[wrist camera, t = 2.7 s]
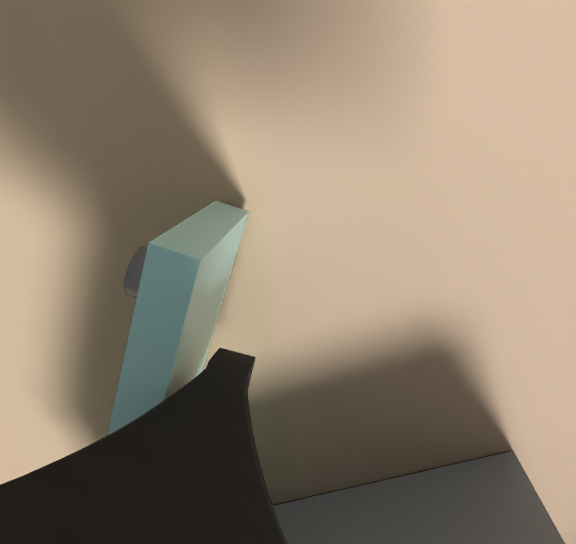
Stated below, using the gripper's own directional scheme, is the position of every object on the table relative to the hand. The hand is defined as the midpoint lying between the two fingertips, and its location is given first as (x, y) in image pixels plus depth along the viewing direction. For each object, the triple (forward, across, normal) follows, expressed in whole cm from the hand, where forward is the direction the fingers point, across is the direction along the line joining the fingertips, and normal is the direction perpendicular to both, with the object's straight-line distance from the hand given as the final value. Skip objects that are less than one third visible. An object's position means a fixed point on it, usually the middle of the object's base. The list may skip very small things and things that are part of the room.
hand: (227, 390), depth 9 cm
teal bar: (+2, +2, +1) cm, 3 cm away
